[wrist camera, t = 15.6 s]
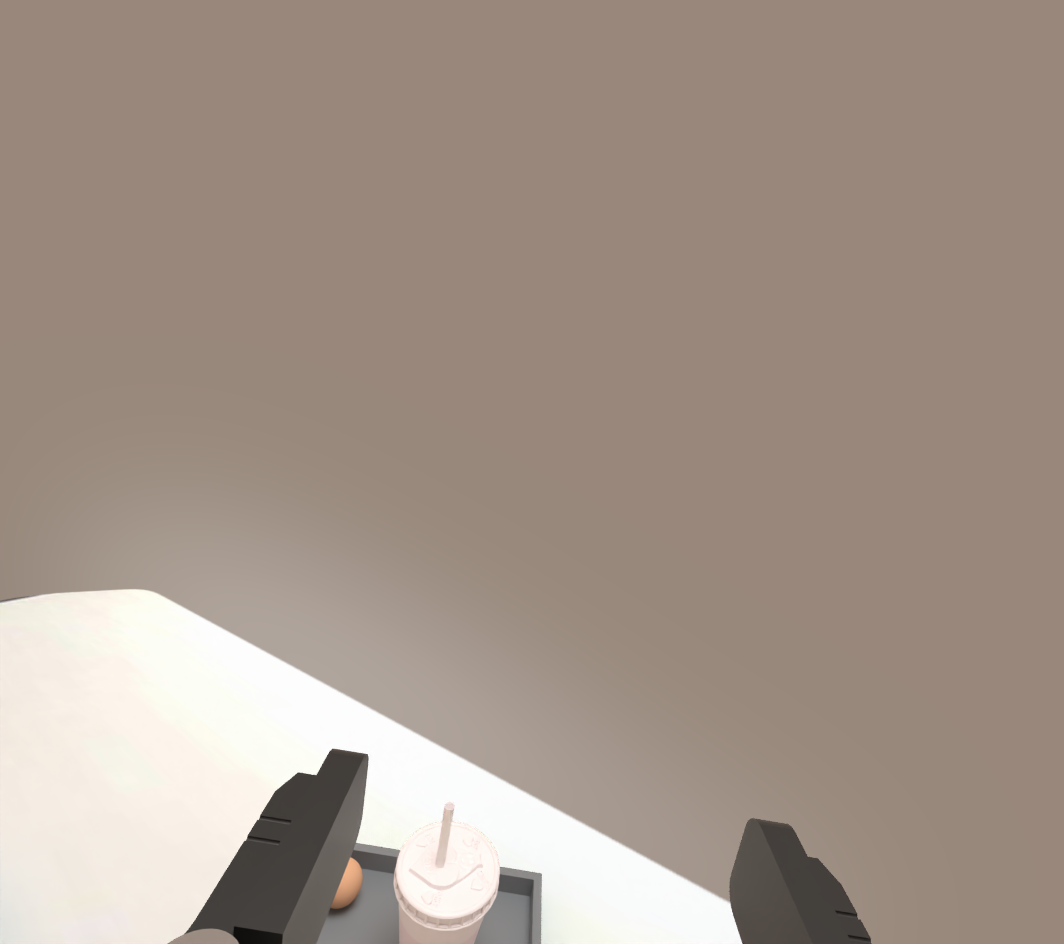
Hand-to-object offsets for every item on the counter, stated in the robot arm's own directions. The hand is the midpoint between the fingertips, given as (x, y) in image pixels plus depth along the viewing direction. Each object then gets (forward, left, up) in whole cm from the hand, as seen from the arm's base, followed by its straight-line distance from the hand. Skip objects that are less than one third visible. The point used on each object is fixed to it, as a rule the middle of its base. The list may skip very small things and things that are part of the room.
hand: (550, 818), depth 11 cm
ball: (+10, -22, -31) cm, 39 cm away
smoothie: (+2, -18, -31) cm, 36 cm away
